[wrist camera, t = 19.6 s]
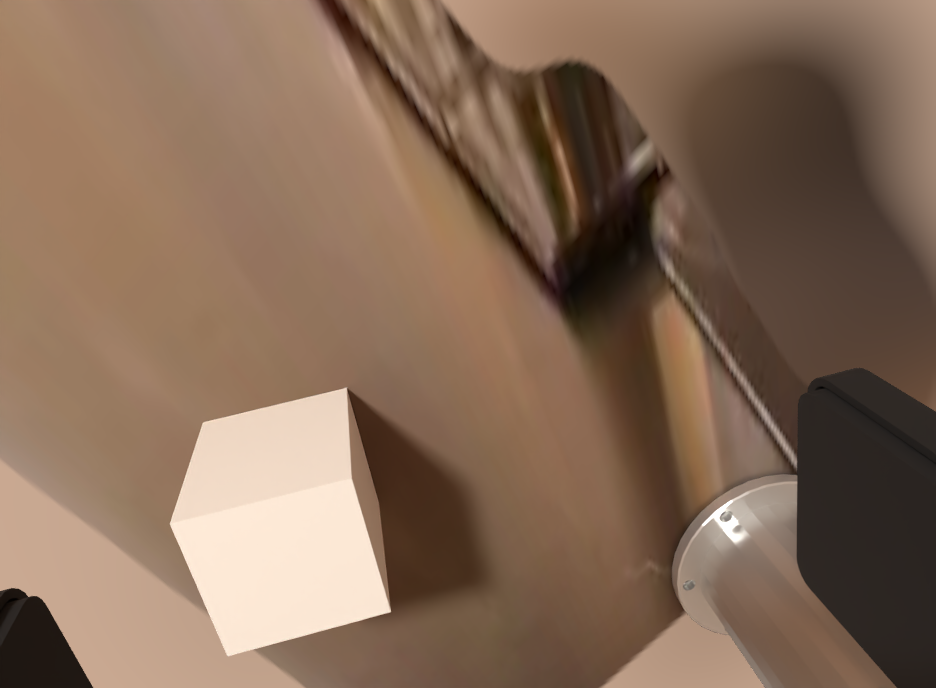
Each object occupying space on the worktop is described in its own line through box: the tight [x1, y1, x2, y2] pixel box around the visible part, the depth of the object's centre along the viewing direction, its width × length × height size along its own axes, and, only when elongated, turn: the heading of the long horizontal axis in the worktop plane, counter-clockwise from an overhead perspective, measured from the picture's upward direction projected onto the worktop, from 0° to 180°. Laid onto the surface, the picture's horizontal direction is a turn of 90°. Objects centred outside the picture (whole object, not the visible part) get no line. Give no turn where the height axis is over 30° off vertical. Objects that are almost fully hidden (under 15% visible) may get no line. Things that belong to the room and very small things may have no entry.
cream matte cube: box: [170, 388, 391, 656], centre depth 36 cm, size 8×8×9 cm
